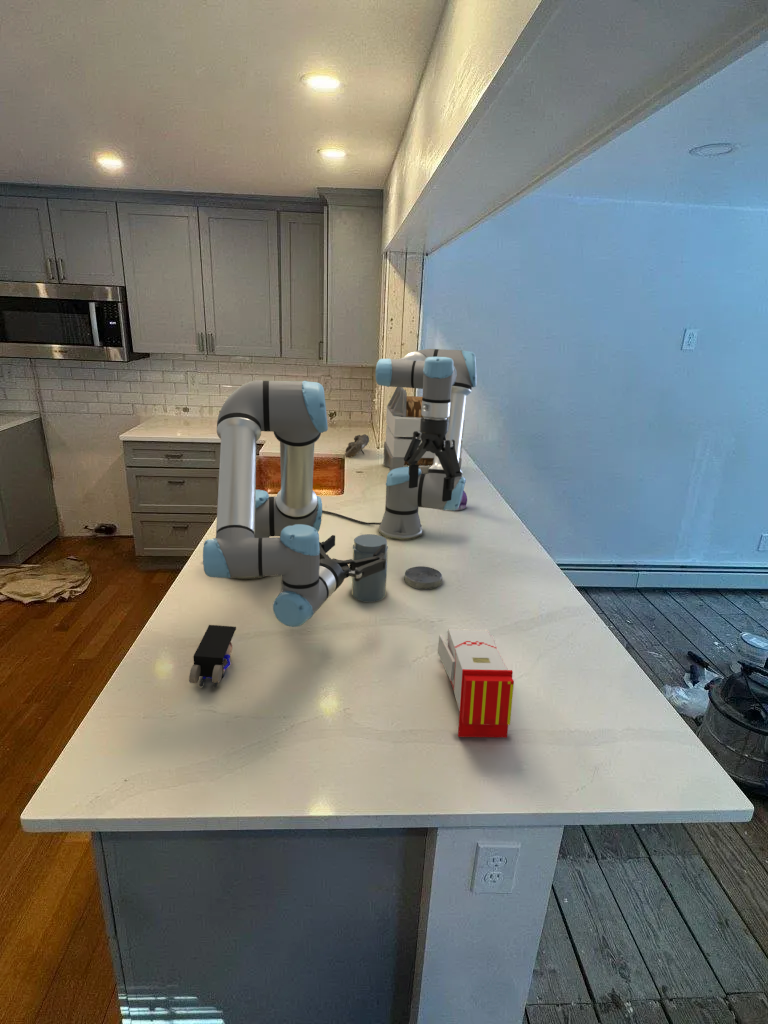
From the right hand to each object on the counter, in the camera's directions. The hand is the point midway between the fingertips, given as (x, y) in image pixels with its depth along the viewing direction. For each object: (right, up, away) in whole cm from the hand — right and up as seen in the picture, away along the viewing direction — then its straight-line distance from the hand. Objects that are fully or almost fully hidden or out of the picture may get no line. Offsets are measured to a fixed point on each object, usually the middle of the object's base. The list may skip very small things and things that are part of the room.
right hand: (429, 493), depth 157 cm
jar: (-17, -28, 0) cm, 32 cm away
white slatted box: (+5, +14, +118) cm, 119 cm away
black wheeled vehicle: (-49, -39, -36) cm, 72 cm away
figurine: (+17, -3, +72) cm, 74 cm away
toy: (+5, -43, -39) cm, 58 cm away
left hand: (-19, -13, -14) cm, 27 cm away
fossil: (-27, +26, +149) cm, 154 cm away
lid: (-1, -23, +8) cm, 25 cm away
